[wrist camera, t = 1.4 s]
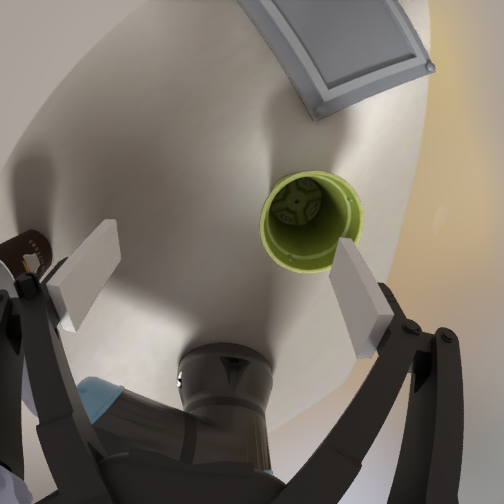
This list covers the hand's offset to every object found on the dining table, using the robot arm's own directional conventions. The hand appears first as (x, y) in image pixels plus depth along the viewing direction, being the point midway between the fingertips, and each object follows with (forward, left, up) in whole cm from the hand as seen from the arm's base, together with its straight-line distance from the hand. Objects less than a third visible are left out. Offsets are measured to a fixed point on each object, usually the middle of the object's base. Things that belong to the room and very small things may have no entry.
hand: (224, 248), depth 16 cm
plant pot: (-5, -6, -17) cm, 18 cm away
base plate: (+11, -21, -16) cm, 29 cm away
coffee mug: (+7, +29, -17) cm, 35 cm away
